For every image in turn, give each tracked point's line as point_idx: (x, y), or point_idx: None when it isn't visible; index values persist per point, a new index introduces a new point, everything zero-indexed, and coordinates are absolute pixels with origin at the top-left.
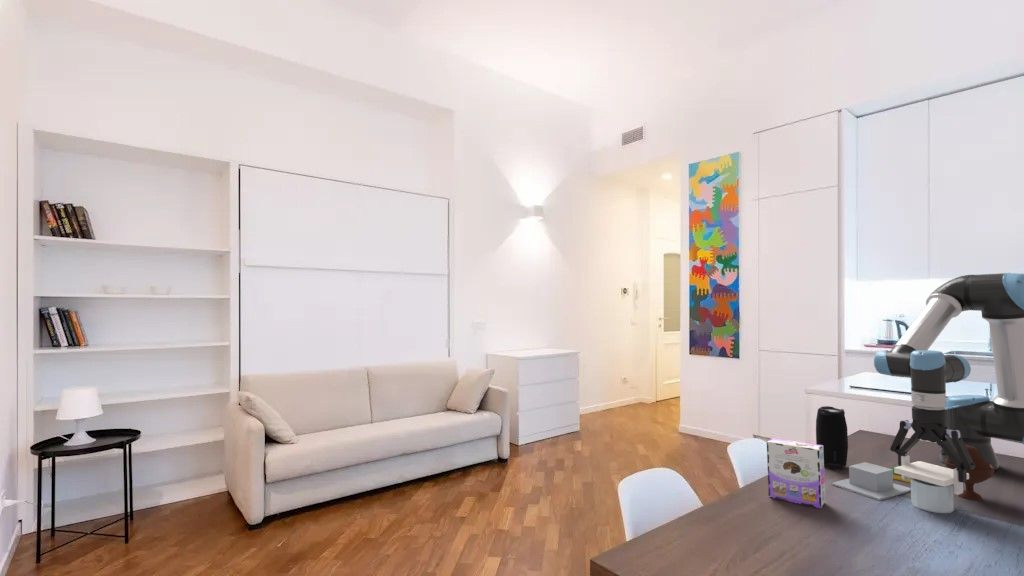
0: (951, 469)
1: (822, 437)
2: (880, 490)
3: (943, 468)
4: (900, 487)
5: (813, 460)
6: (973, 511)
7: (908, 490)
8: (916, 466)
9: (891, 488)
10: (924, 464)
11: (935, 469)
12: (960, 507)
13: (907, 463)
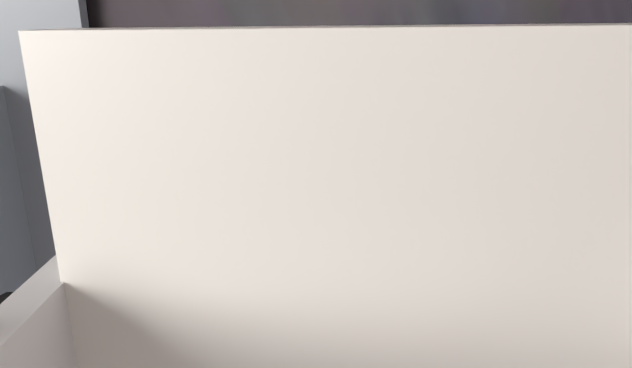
0: (512, 56)
1: None
2: (29, 256)
3: (420, 107)
4: (17, 25)
5: None
6: (548, 18)
7: (82, 23)
8: (188, 332)
9: (11, 117)
10: (175, 148)
11: (384, 257)
12: (461, 16)
13: (68, 337)
